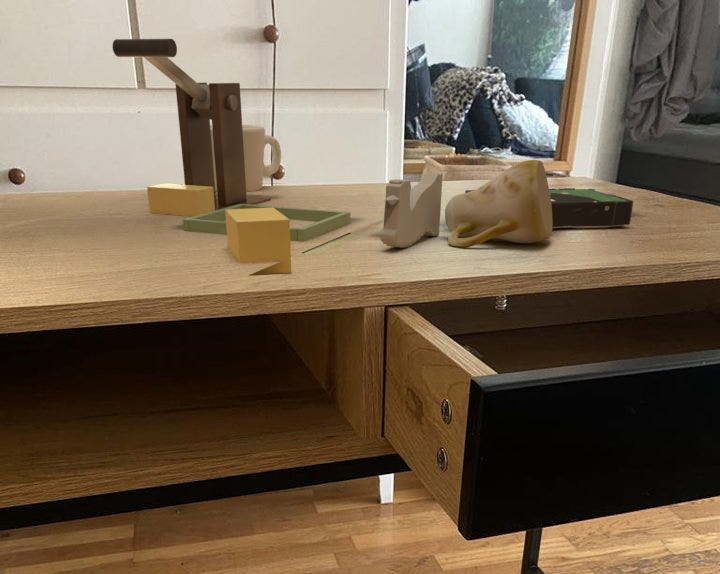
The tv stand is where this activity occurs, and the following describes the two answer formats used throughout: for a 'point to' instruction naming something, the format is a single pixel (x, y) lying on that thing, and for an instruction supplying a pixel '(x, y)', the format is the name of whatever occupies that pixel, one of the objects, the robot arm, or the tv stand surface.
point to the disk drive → (588, 208)
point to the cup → (255, 156)
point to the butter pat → (259, 238)
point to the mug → (503, 208)
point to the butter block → (181, 199)
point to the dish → (324, 218)
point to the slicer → (215, 145)
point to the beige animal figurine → (411, 210)
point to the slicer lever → (166, 67)
